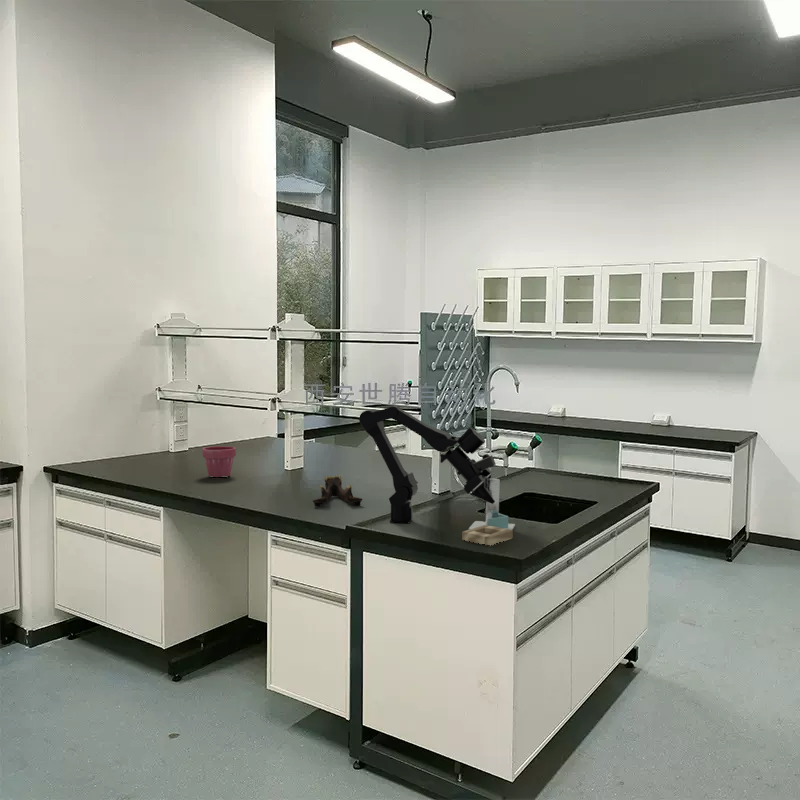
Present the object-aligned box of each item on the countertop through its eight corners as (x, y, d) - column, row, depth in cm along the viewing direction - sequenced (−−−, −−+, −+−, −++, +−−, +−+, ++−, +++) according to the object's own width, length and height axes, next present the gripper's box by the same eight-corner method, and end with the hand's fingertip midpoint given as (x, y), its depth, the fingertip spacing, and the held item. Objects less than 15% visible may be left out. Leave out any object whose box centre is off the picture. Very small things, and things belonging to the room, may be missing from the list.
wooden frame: (462, 540, 218) (462, 531, 217) (484, 532, 227) (485, 524, 227) (490, 546, 211) (490, 537, 211) (512, 538, 220) (512, 530, 220)
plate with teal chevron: (468, 530, 229) (468, 517, 229) (475, 522, 240) (475, 510, 239) (510, 533, 225) (510, 520, 225) (514, 525, 236) (515, 513, 236)
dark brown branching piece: (365, 501, 285) (370, 477, 283) (357, 520, 260) (363, 494, 259) (321, 492, 285) (326, 467, 284) (310, 510, 261) (315, 483, 260)
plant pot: (215, 473, 331) (215, 445, 330) (242, 475, 326) (242, 446, 325) (196, 478, 318) (195, 448, 317) (223, 480, 313) (223, 450, 312)
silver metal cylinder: (488, 527, 230) (489, 480, 229) (483, 524, 234) (485, 478, 233) (500, 527, 231) (501, 480, 230) (495, 524, 235) (496, 478, 234)
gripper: (475, 450, 223) (510, 488, 221) (485, 443, 241) (518, 478, 239) (449, 474, 226) (484, 512, 223) (461, 465, 244) (494, 500, 241)
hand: (496, 500), depth 232 cm, fingers open, 9 cm apart
